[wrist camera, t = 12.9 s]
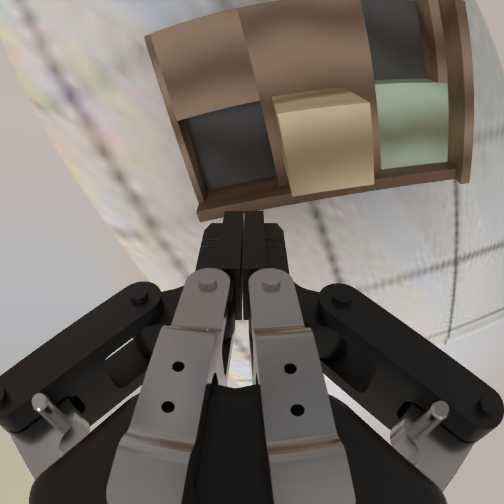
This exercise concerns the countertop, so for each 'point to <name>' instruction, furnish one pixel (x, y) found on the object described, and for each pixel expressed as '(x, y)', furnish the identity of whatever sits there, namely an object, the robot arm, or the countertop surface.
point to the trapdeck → (316, 78)
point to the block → (325, 140)
